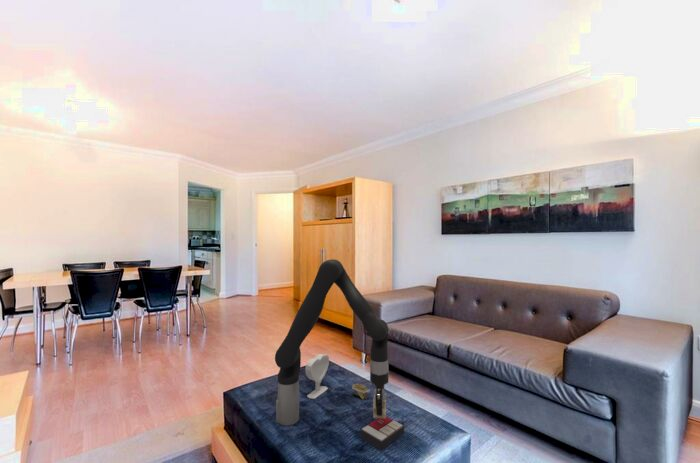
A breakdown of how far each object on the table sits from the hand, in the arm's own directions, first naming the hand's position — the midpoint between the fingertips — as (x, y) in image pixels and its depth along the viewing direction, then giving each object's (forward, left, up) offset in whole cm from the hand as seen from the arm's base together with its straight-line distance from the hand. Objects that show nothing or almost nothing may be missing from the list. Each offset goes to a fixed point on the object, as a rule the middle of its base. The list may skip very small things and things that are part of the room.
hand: (379, 411), depth 129 cm
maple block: (0, 0, -1) cm, 1 cm away
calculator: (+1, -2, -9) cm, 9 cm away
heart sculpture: (-33, +28, -9) cm, 44 cm away
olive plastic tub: (-11, +26, -9) cm, 29 cm away
